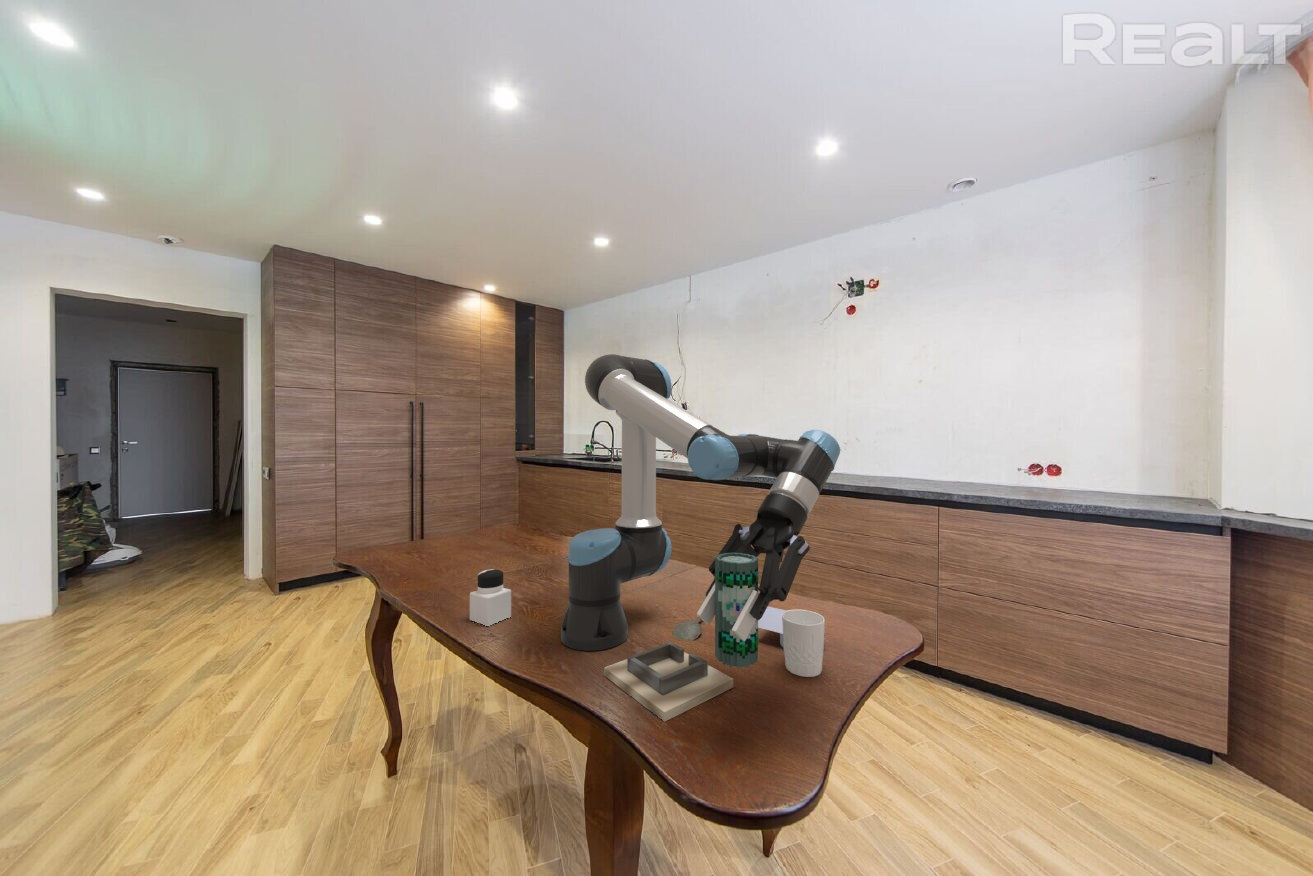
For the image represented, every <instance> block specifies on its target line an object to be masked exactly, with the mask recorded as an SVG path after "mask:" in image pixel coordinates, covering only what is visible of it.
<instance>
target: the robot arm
mask: <svg viewBox="0 0 1313 876" xmlns="http://www.w3.org/2000/svg"><path fill="white" fill-rule="evenodd" d="M584 384H585V390H586V392H587V394H588V395H589V396H590V397H591V399H592V400H593V401H594V402H596V403H597V404H599V406H601V407H603V408H604V409H606V410H608V411H615V414H616V415H617V416H618V417H619V418H620V421H621V516H620V517H619V518H618V519H617V520H616V521H615V528H611V527H610V528H609V527H606V528H605V527H604V528H603V527H602V528H597V529H595V528H594V529H589V530H585V531H582V532H580V533H577V534H576V535H574V536H573V537H572V538H571V540H570V541H569V546H568V555H567V561H568V605H567V607H566V608H567V609H566V611H565V615H564V618H563V621H562V623H561V626H560V627H561V628H560V641H561V643H562V644H563V645H565V646H566V647H567V648H570V649H573V650H577V651H585V652H586V651H588V652H591V651H594V652H596V651H602V650H608V649H611V648H614V647H617V646H619V645H621V644H622V643H624V642H625V641H626V640H627V639H628V637H629V624H628V621H627V617H626V614H625V611H624V608H623V604H622V601H621V585H622V584H624V583H627V582H630V581H634V580H637V579H640V578H645V577H650V576H652V575H654V574H655V573H656V574H657V573H658V572H660V571H662V570H664V568H665V567H666V566H667V564H669V561H670V559H671V554H672V541H671V538H670V536H668V534H669V533H668V532H667V531H666V529H665V528H663V522H662V521H661V520H660V518H658V516H657V439H658V440H660V441H661V442H663V443H664V444H666V445H667V446H668V447H670V448H671V449H673V450H674V451H676V452H677V453H679V454H680V455H681V456H683V457H685V458H686V459H687V463H688V466H689V467H690V468H691V471H692V473H693V474H694V475H695V476H696V477H698V478H699V479H703V480H712V481H723V480H727V479H734V478H744V477H755V476H762V477H768V478H775V481H774V482H773V484H772V486H771V487H770V489H769V491H768V493H767V495H766V496H765V497H764V499H763V501H762V502H761V504H760V506H759V507H758V510H757V513H756V514H757V515H756V519H755V520H754V521H753V522H752V523H751V524H750V525H749V526H742V524H740V523H737V524H735V525H734V528H733V531H732V533H731V536H730V537H729V539H727V541H726V543H725V544H724V546H723V547H722V549H721V550H720V552H719V553H718V554H717V555H720V554H724V553H743V554H749V555H753V556H755V557H756V558H758V557H759V556H760V555H761V554H765V556H764V563H763V568H762V573H761V576H760V577H761V578H760V583H759V585H758V586H757V589H758V592H757V591H755V590H753V591H752V593H751V595H750V597H749V599H748V600H747V602H746V604H745V606H744V608H743V610H742V612H741V613H740V615H739V617H738V619H737V621H736V623H735V624H734V626H733V628H732V631H733V632H734V633H735V634H736V635H737V636H738V637H739V638H740V639H741V640H743V641H745V640H746V638H747V636H748V635H749V633H750V631H751V629H752V627H753V625H754V623H755V621H756V619H758V621H759V620H760V619H761V618H762V616H763V614H764V612H765V610H766V609H767V607H768V606H769V604H770V603H771V602H773V601H776V600H778V601H779V602H785V601H786V600H787V598H788V595H789V592H790V590H791V588H792V586H793V582H794V581H795V578H796V576H797V575H796V574H797V572H798V570H799V568H800V565H801V563H802V560H803V558H805V556H806V555H807V553H808V552H809V551H810V549H811V547H810V545H809V544H808V543H807V541H806V539H805V538H804V537H803V536H802V535H800V534H801V531H802V529H803V528H804V526H805V524H806V522H807V519H808V516H809V515H810V514H811V511H812V510H813V508H814V507H815V506H814V505H815V504H816V502H817V500H818V498H819V496H820V494H821V492H822V490H823V489H824V486H825V485H826V483H827V481H828V480H829V477H830V476H831V474H832V472H833V471H834V470H835V467H836V464H837V461H838V459H839V456H840V454H841V447H840V445H839V442H838V441H837V439H836V438H835V437H834V436H833V435H831V434H830V433H829V432H826V431H823V430H820V429H810V430H807V431H804V432H803V433H802V435H801V436H799V437H798V439H797V440H796V439H795V440H794V439H784V438H783V439H782V438H776V437H771V436H765V435H759V434H757V433H756V434H755V433H754V434H752V433H741V434H738V435H730V434H727V433H725V432H724V431H722V430H720V429H718V428H717V427H715V426H713V425H712V424H710V423H709V422H707V421H705V420H703V419H702V418H700V417H698V416H697V415H695V414H693V413H691V412H690V411H688V410H686V408H683V407H681V406H680V405H677V404H676V403H675V402H673V401H671V400H669V399H670V398H671V395H672V392H673V391H672V389H673V387H672V379H671V375H670V373H669V372H668V371H667V369H666V368H665V367H664V366H663V365H662V364H660V363H658V362H654V361H652V360H649V359H647V358H646V359H643V358H639V357H638V358H636V357H631V356H626V355H624V356H623V355H621V354H620V355H619V354H616V353H615V354H613V353H612V354H604V355H601V356H598V357H597V358H596V359H594V360H593V361H592V362H591V363H590V364H589V366H588V367H587V369H586V373H585V376H584ZM798 535H799V536H798ZM785 549H787V551H786V552H785V555H784V551H785ZM783 557H784V558H783ZM708 571H709V572H710V573H711V574H712V575H713V580H712V582H711V583H710V585H709V587H708V589H707V590H706V592H705V599H704V601H703V602H702V604H701V606H700V608H699V609H698V611H697V612H696V615H697V616H698V618H699V617H700V618H701V620H702V621H703V622H704V624H707V625H708V626H709V625H711V623H712V620H713V619H714V618H715V559H714V560H713V561H712V563H711V564H710V565H709V567H708Z"/></svg>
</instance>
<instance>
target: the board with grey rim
mask: <svg viewBox="0 0 1313 876" xmlns="http://www.w3.org/2000/svg"><path fill="white" fill-rule="evenodd" d="M708 663H709V661H707V660H705V658H702V657H700V656H698V655H696V654H694V653H693V652H692V653H690V654H689V653H687V652H686V651H685V648H684V647H682V646H679V645H678V644H677V643H674V642H673V641H667V642H665V643H663V644H662V643H661V644H659V645H658V646H655V647H652V648H649V649H646V650H643V651H640V652H637V653H636V654H632V655H630V656H627V658H626V659H624V660H621V661H618V662H615V663H613V664H610V665H606V666H605V667H603V676H604V677H605V678H606V679H608V680H609V681H611V682H612V683H613V684H614V685H616V686H617V687H619V688H620V689H621V690H622V691H624V692H625V693H627V695H629V696H630V697H631V696H632V698H633V699H634V700H636V702H638V703H639V704H640V705H642V706H643V707H645V708H646V709H647V710H649V712H651V713H652V712H653V713H652V714H654V715H655V714H656V715H657V716H658V717H657V716H656V715H655V716H656V717H657V718H659V719H660V720H661V719H662V720H661V721H663V723H665V722H667V721H669V720H671V719H673V718H675V717H678V716H679V715H681V714H683V713H685V712H687V711H689V710H691V709H694V708H695V707H697V706H699V705H701V704H703V703H705V702H707V701H708V700H712V699H713V698H715V697H717V696H719V695H720V694H723V693H725V692H727V691H729V690H730V689H731V690H732V689H733V688H734V678H732V677H731V676H729V675H727V674H725V673H724V672H722V671H720V670H718V669H716V668H714V667H713V666H711V665H709V664H708Z"/></svg>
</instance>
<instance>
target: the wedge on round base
mask: <svg viewBox="0 0 1313 876" xmlns="http://www.w3.org/2000/svg"><path fill="white" fill-rule="evenodd" d="M785 611H787V610H785V609H781V608H777V607H772V606H769V605H768V607H767V609H766V610H765V612H764V614H763V616H762V618H761V619H760V620H758V629H761V630H762V629H763V630H767V631H771V632H775V633H778V634H779V644H780V646H781V647H782V649H784V643H783V626H782V613H783V612H785ZM824 648H825V647H823V651H824V650H825V649H824Z"/></svg>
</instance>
